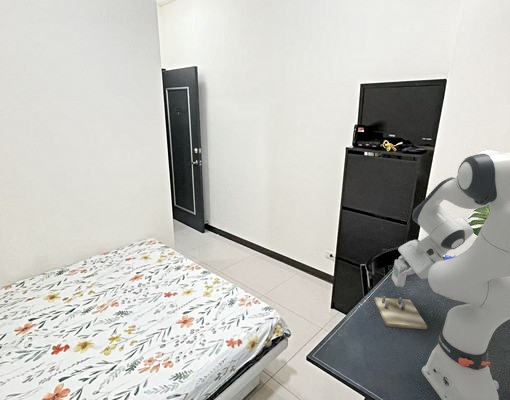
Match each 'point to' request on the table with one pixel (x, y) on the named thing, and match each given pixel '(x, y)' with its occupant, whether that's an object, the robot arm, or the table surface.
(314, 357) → the table surface
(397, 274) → the drive
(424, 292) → the table surface
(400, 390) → the table surface
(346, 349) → the table surface
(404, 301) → the pin tray
